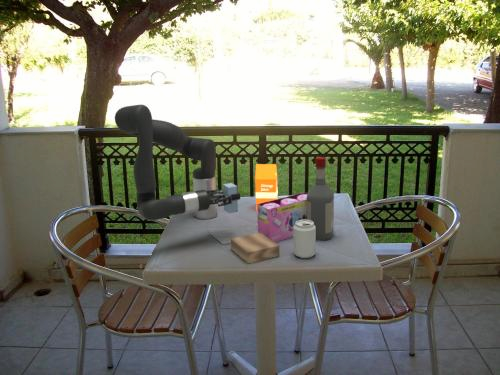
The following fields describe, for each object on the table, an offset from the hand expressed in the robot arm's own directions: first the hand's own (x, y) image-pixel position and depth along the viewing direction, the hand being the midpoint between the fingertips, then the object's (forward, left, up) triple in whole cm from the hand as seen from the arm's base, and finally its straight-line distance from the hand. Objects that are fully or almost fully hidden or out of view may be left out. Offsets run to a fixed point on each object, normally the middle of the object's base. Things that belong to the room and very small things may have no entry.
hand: (236, 194), depth 195 cm
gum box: (+17, +9, -16) cm, 25 cm away
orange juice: (-6, +30, -16) cm, 35 cm away
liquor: (+28, +13, -16) cm, 35 cm away
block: (-1, -2, -6) cm, 7 cm away
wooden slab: (+15, -12, -16) cm, 25 cm away
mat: (-1, -2, -16) cm, 16 cm away
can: (+31, -5, -16) cm, 35 cm away
